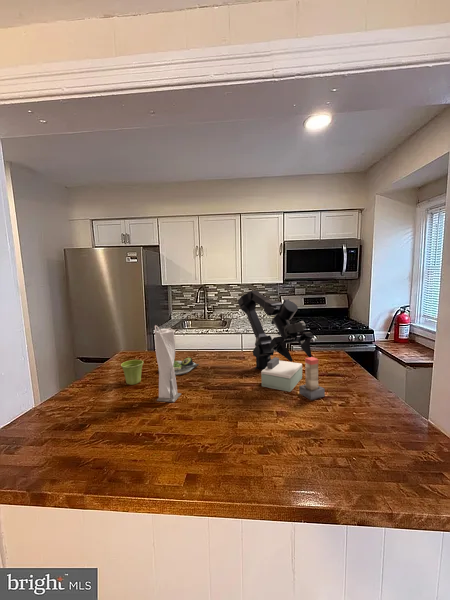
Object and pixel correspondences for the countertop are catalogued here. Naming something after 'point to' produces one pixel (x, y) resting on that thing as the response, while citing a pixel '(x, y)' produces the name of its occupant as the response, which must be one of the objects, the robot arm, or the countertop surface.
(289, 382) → the toolbox
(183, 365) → the salad plate
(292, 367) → the toolbox lid
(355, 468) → the countertop surface
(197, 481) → the countertop surface
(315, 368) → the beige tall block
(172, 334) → the skyscraper
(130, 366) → the plant pot
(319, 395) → the key socket
